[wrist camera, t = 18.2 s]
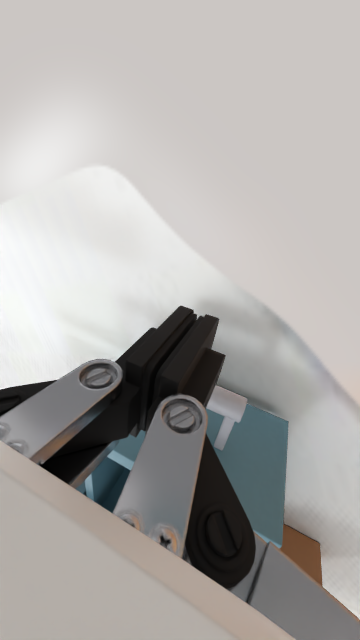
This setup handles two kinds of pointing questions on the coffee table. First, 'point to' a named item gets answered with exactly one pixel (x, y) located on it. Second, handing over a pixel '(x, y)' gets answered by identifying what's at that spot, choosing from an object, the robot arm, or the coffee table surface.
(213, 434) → the drawer
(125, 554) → the robot arm
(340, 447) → the coffee table surface
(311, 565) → the brown rectangular box
